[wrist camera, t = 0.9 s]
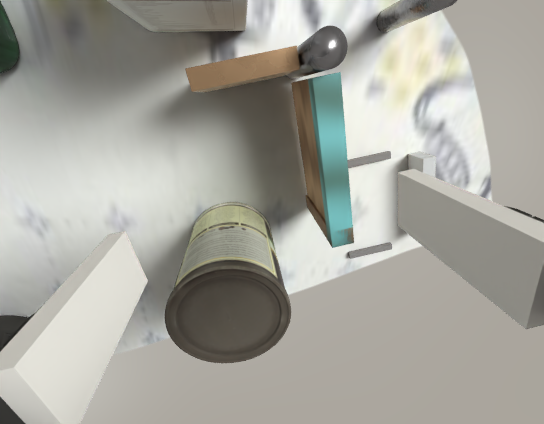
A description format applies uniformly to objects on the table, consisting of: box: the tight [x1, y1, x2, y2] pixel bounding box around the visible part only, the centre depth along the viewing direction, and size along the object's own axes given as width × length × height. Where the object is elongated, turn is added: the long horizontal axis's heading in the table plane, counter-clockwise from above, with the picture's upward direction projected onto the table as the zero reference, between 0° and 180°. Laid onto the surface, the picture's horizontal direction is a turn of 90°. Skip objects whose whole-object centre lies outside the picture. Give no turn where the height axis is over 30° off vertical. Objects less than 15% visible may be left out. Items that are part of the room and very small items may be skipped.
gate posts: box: [186, 0, 457, 92], centre depth 23 cm, size 20×4×12 cm, turn 101°
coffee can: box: [165, 202, 291, 363], centre depth 29 cm, size 10×10×14 cm
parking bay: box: [347, 151, 436, 259], centre depth 35 cm, size 10×14×3 cm
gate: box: [291, 72, 354, 248], centre depth 26 cm, size 14×2×10 cm, turn 11°
